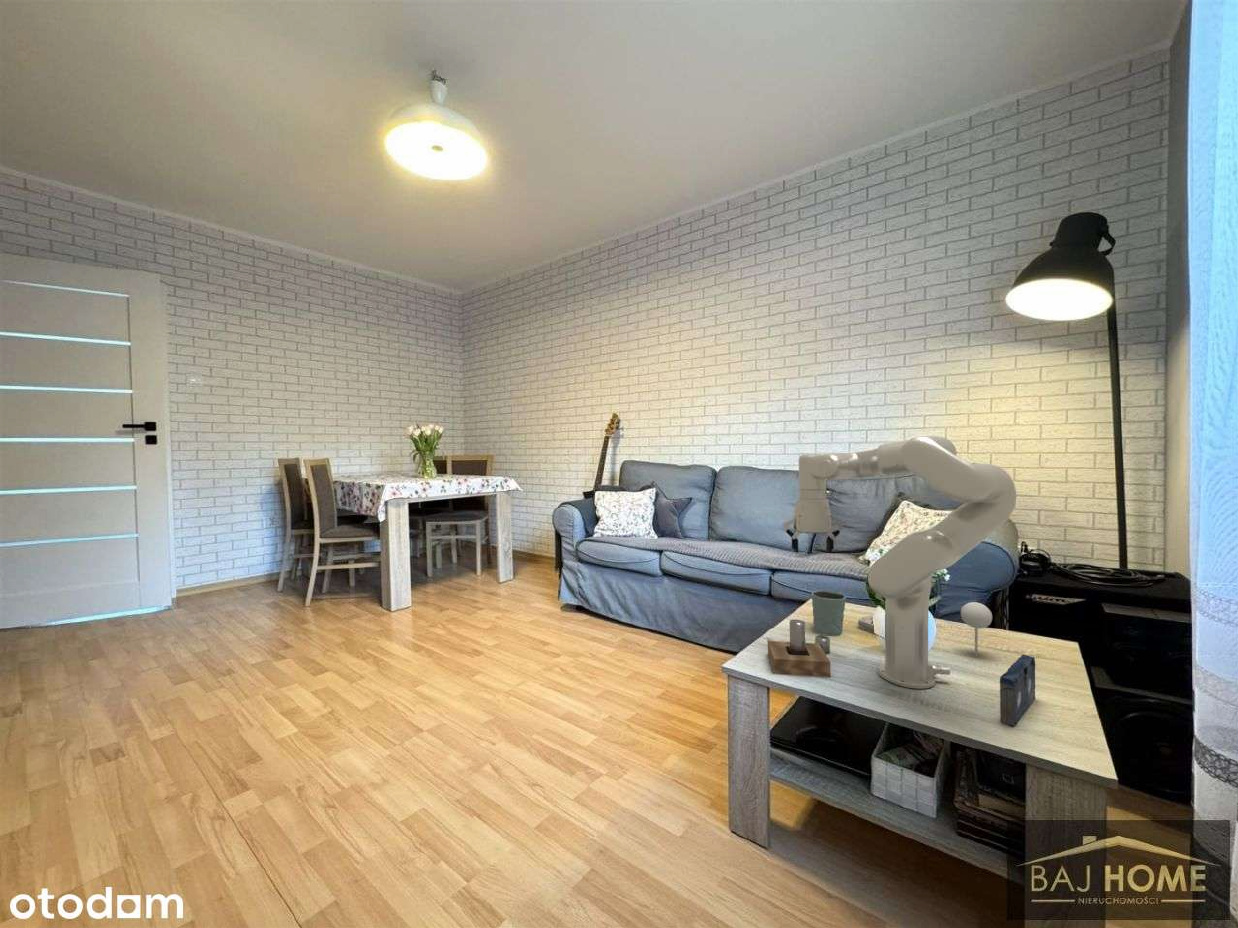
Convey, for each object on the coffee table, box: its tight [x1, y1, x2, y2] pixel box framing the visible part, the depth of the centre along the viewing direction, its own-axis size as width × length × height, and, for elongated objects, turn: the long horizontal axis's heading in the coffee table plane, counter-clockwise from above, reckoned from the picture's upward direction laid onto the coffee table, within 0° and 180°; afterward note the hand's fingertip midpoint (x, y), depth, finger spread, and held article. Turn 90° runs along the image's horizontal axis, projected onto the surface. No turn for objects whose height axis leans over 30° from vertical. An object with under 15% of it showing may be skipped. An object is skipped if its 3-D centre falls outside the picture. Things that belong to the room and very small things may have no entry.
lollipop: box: [960, 601, 993, 657], centre depth 134 cm, size 7×7×15 cm
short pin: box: [814, 634, 831, 655], centre depth 139 cm, size 4×4×4 cm
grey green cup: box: [811, 589, 847, 637], centre depth 154 cm, size 10×10×12 cm
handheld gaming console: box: [857, 614, 875, 635], centre depth 152 cm, size 9×4×15 cm
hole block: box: [767, 640, 832, 678], centre depth 130 cm, size 14×12×4 cm
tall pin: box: [789, 618, 806, 656], centre depth 130 cm, size 4×4×12 cm
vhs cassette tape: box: [999, 654, 1036, 728], centre depth 106 cm, size 18×3×10 cm, turn 127°
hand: (812, 551), depth 143 cm, fingers open, 9 cm apart
